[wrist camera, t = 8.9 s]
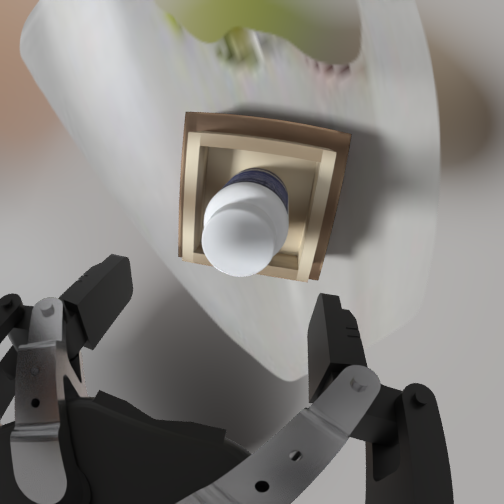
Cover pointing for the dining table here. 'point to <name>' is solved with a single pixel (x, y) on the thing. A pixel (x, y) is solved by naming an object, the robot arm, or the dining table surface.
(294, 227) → the top crate
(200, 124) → the box
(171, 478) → the robot arm
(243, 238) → the pill bottle
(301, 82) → the dining table surface
